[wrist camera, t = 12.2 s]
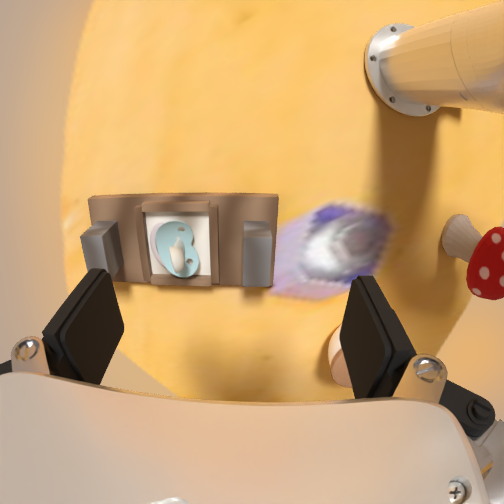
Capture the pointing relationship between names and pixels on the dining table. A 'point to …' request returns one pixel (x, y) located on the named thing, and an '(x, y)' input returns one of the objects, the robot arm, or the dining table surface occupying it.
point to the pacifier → (174, 247)
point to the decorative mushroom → (477, 255)
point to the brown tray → (197, 217)
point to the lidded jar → (338, 361)
